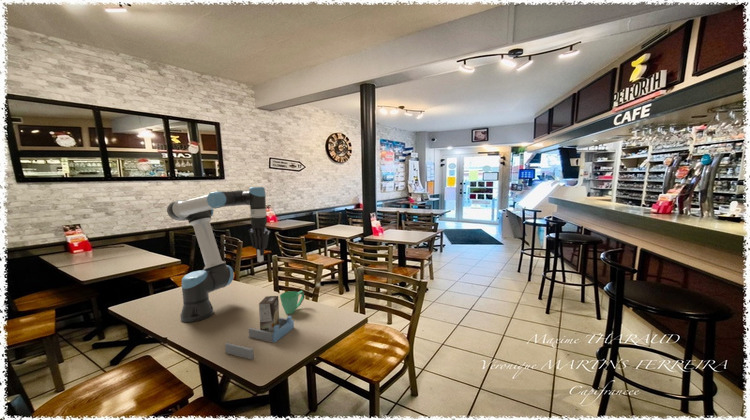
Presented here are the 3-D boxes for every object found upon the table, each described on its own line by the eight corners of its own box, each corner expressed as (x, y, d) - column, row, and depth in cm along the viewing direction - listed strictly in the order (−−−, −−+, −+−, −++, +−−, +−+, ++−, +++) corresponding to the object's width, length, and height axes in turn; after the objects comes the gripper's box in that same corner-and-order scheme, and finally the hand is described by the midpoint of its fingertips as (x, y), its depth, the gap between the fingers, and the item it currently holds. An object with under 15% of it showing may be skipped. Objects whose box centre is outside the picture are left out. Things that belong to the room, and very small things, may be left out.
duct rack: (225, 352, 120) (224, 338, 119) (269, 323, 145) (269, 310, 144) (253, 359, 115) (252, 344, 114) (293, 327, 140) (293, 314, 139)
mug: (288, 317, 150) (287, 299, 149) (277, 313, 156) (276, 295, 155) (309, 308, 162) (309, 290, 161) (298, 303, 168) (298, 287, 167)
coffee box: (274, 336, 132) (272, 303, 130) (260, 337, 132) (258, 303, 130) (280, 326, 141) (278, 295, 139) (267, 327, 141) (265, 295, 139)
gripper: (243, 217, 146) (245, 262, 149) (263, 218, 142) (265, 264, 144) (254, 215, 153) (256, 258, 156) (273, 216, 149) (275, 260, 151)
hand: (260, 261), depth 150 cm, fingers closed
